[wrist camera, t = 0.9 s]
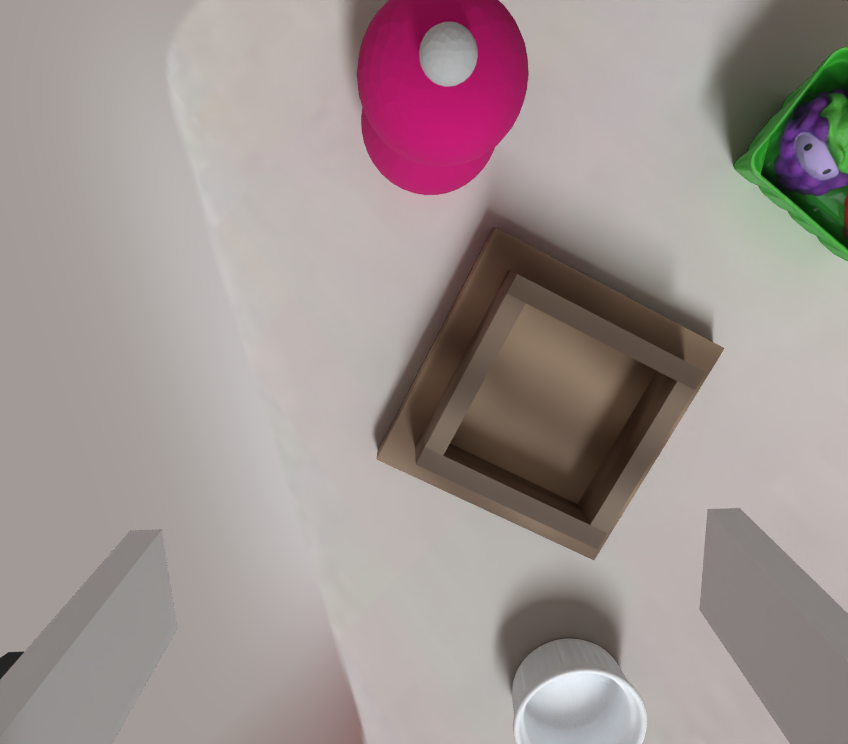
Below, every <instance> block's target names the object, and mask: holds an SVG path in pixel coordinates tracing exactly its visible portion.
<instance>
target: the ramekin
mask: <svg viewBox="0 0 848 744" xmlns="http://www.w3.org/2000/svg"><path fill="white" fill-rule="evenodd" d="M512 696H513V708H514V721H513V731H514V738H515V742H516V744H642V742H643V740H644V737H645V734H646V728H647V713H646V709H645V705H644V703H643V700H642V698H641V696H640V695H639V693H638V692H637V690H636V689H635V688H634V686H633V685H632V684H631V683H630V682H629V681H628V680H627V678H626V677H625V675H624V674H623V672H622V670H621V669H620V667H619V666H618V664H617V663H616V661H615V660H614V659H613V657H612V656H611V655H610V654H609V653H608V652H607V651H605V650H604V649H603V648H601V647H600V646H598V645H596V644H594V643H591V642H588V641H585V640H581V639H558V640H554V641H551V642H548V643H545V644H544V645H542V646H540V647H538V648H537V649H535V650H534V651H532V652H531V653H530V654H529V655H528V656H527V657H526V658H525V659H524V660H523V662H522V663H521V665H520V666H519V668H518V670H517V672H516V674H515V678H514V681H513V688H512Z"/></svg>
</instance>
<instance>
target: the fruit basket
mask: <svg viewBox="0 0 848 744" xmlns="http://www.w3.org/2000/svg"><path fill="white" fill-rule="evenodd" d="M734 169H735V170H736V171H737V172H738V173H740V174H741V175H742V176H743V177H744V178H745V179H747V180H748V181H749V182H751V183H753V184H756V185H759V188H760V189H761V191H762V193H763V194H764V195H765V196H767V197H768V198H769V199H770V200H771V201H772V202H774V203H775V204H776V205H777V206H778V207H780V208H782V209H785V210H787V211H788V212H789V214H790V215H791V217H792V219H794V220H795V221H796V222H797V223H798V224H799V225H801V226H802V227H803V228H804V229H805V230H807V231H808V232H809V233H812V234H814V235H816V236H817V237H818V239H819V240H820V242H821V243H822V244H823V245H824V246H825V247H826V248H828V249H829V250H830V251H831V252H832V253H833V254H835V255H837V256H839V257H840V258H842V259H844V260H846V261H848V47H843V48H840V49H838V50H836V51H834V52H833V53H832V54H831V55H830V56H829V57H828V58H827V59H826V60H825V61H824V62H823V63H822V64H821V65H820V66H819V67H818V68H817V70H816V71H815V72H814V73H813V75H812V76H811V77H809V78H808V79H807V80H806V81H805V82H804V83H803V84H802V85H801V86H800V87H798V88H797V89H796V90H795V91H794V92H793V93H792V94H791V95H790V96H788V97H787V99H786V100H785V101H784V103H783V105H782V108H781V110H780V111H779V112H778V113H776V114H775V115H774V116H773V117H771V119H770V120H769V121H768V122H767V124H766V125H765V126H764V127H763V129H762V130H761V131H760V132H759V134H758V135H757V136H756V137H755V139H754V140H753V141H752V142H751V144H750V146H749V149H748V151H747V153H745V154H744V155H743V156H741V157H740V158H739V159H738V160H737V161H736V162H735V164H734Z"/></svg>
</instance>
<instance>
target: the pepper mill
mask: <svg viewBox="0 0 848 744" xmlns="http://www.w3.org/2000/svg"><path fill="white" fill-rule="evenodd" d="M357 81H358V90H359V97H360V100H361V103H362V106H363V108H362V117H361V124H362V134H363V140H364V144H365V146H366V149H367V152H368V154H369V156H370V158H371V160H372V162H373V163H374V165H375V166H376V167H377V169H378V170H379V171H380V172H381V174H382V175H384V176H385V177H386V178H387V179H388V180H389V181H390V182H392V183H393V184H395V185H397V186H398V187H400V188H402V189H404V190H407V191H410V192H413V193H417V194H423V195H438V194H443V193H448V192H451V191H454V190H456V189H458V188H460V187H462V186H464V185H466V184H467V183H469V182H470V181H471V180H472V179H474V178H475V177H476V176H477V175H478V174H479V173H480V172H481V170H482V169H483V168H484V167H485V165H486V164H487V162H488V161H489V159H490V157H491V155H492V153H493V151H494V148H495V146H497V145H498V143H499V142H500V141H501V140H502V139H503V138H504V137H505V135H506V134H507V133H508V132H509V130H510V129H511V128H512V126H513V125H514V123H515V121H516V119H517V117H518V115H519V113H520V110H521V107H522V105H523V102H524V98H525V94H526V90H527V82H528V59H527V53H526V47H525V43H524V40H523V38H522V35H521V33H520V30H519V28H518V26H517V24H516V22H515V20H514V18H513V17H512V16H511V14H510V13H509V12H508V10H507V9H506V7H505V6H504V5H503V4H502V3H501V2H500V1H498V0H389V1H388V2H387V3H386V4H385V5H384V6H383V7H382V8H381V9H380V10H379V11H378V12H377V14H376V15H375V17H374V18H373V20H372V21H371V23H370V24H369V27H368V29H367V31H366V33H365V36H364V38H363V41H362V45H361V49H360V52H359V60H358V68H357Z"/></svg>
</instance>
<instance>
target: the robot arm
mask: <svg viewBox="0 0 848 744" xmlns="http://www.w3.org/2000/svg"><path fill="white" fill-rule="evenodd" d="M700 611H701V612H702V614H703V615H704V617H705V618H706V620H707V621H708V623H709V624H710V626H711V627H712V629H713V630H714V632H715V633H716V635H717V636H718V638H719V639H720V641H721V642H722V644H723V645H724V647H725V648H726V649H727V651H728V652H729V654H730V655H731V657H732V658H733V660H734V661H735V663H736V664H737V666H738V667H739V669H740V670H741V672H742V673H743V675H744V676H745V678H746V679H747V681H748V682H749V684H750V685H751V686H752V688H753V689H754V691H755V692H756V694H757V695H758V697H759V698H760V700H761V701H762V703H763V704H764V706H765V707H766V709H767V710H768V712H769V713H770V715H771V716H772V718H773V719H774V721H775V722H776V723H777V725H778V726H779V728H780V729H781V731H782V732H783V734H784V735H785V737H786V738H787V740H788V741H789V743H790V744H848V613H847V612H846V611H845V610H843V609H842V608H841V607H840V606H839V605H838V604H837V603H836V602H835V601H834V600H833V599H832V598H831V597H830V596H829V595H828V594H827V593H826V592H825V591H824V590H823V589H822V588H821V587H820V586H819V585H818V584H817V583H816V582H815V581H814V580H813V579H812V578H811V577H810V576H809V575H808V574H807V573H806V572H805V571H803V570H802V569H801V568H800V567H799V566H798V565H797V564H796V563H795V562H794V561H793V560H792V559H791V558H790V557H789V556H788V555H787V554H786V553H785V552H784V551H783V550H782V549H781V548H780V547H779V546H778V545H777V544H776V543H775V542H774V541H773V540H772V539H771V538H770V537H769V536H768V535H767V534H766V533H765V532H764V531H762V530H761V529H760V528H759V527H758V526H757V525H756V524H755V523H754V522H753V521H752V520H751V519H750V518H749V517H748V516H747V515H746V514H745V513H744V512H743V511H742V510H741V509H740V508H731V509H708V511H707V523H706V536H705V548H704V561H703V573H702V586H701V598H700ZM176 630H177V623H176V616H175V610H174V603H173V597H172V590H171V584H170V578H169V571H168V565H167V558H166V552H165V546H164V540H163V533H162V530H135V531H130V532H129V533H128V534H127V535H126V536H125V537H124V538H123V540H122V541H121V542H120V543H119V544H118V545H117V547H116V548H115V549H114V550H113V551H112V552H111V553H110V555H109V556H108V557H107V558H106V559H105V560H104V561H103V563H102V564H101V565H100V566H99V567H98V568H97V569H96V571H95V572H94V573H93V574H92V575H91V576H90V578H89V579H88V580H87V581H86V582H85V583H84V584H83V585H82V587H81V588H80V589H79V590H78V591H77V592H76V594H75V595H74V596H73V597H72V598H71V599H70V600H69V601H68V603H67V604H66V605H65V606H64V607H63V608H62V610H61V611H60V612H59V613H58V614H57V615H56V616H55V618H54V619H53V620H52V621H51V622H50V623H49V625H48V626H47V627H46V628H45V629H44V630H43V631H42V632H41V634H40V635H39V636H38V637H37V638H36V639H35V640H34V642H33V643H32V644H31V645H30V646H29V647H28V649H27V650H26V651H25V652H8V653H7V654H5V655H4V656H2V657H1V658H0V744H112V743H113V742H114V740H115V738H116V736H117V735H118V732H119V731H120V729H121V727H122V726H123V724H124V722H125V720H126V719H127V717H128V715H129V713H130V711H131V710H132V708H133V706H134V704H135V703H136V701H137V699H138V697H139V696H140V694H141V692H142V690H143V688H144V687H145V685H146V683H147V681H148V680H149V678H150V676H151V674H152V673H153V671H154V669H155V667H156V666H157V664H158V662H159V660H160V658H161V657H162V655H163V653H164V651H165V650H166V648H167V646H168V644H169V642H170V641H171V639H172V637H173V635H174V634H175V632H176Z"/></svg>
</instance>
